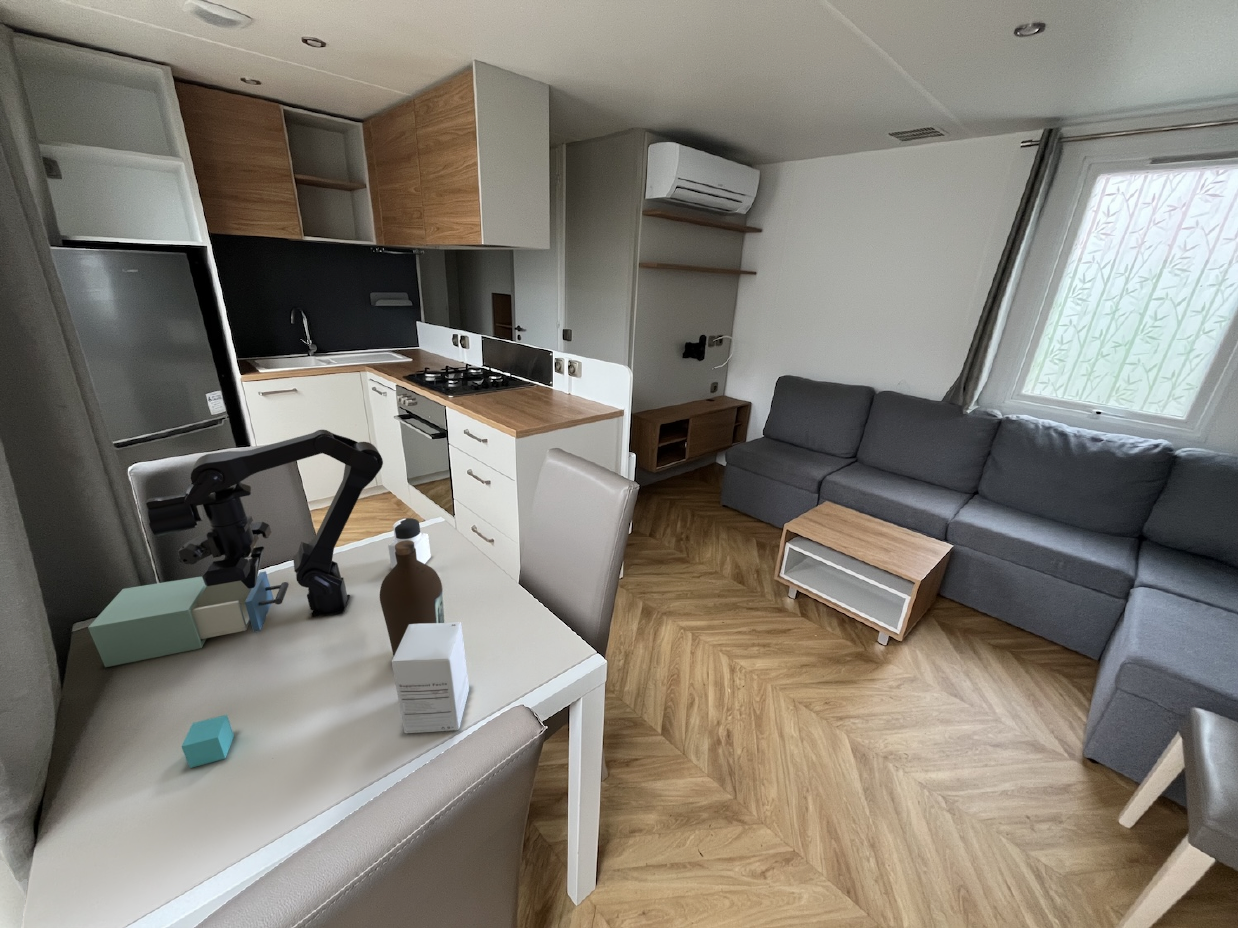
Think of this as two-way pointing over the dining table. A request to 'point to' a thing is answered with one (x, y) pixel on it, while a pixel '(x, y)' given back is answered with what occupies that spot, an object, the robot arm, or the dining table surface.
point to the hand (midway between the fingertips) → (251, 587)
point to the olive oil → (410, 594)
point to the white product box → (431, 677)
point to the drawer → (235, 606)
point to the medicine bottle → (410, 531)
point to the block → (208, 741)
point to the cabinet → (148, 622)
